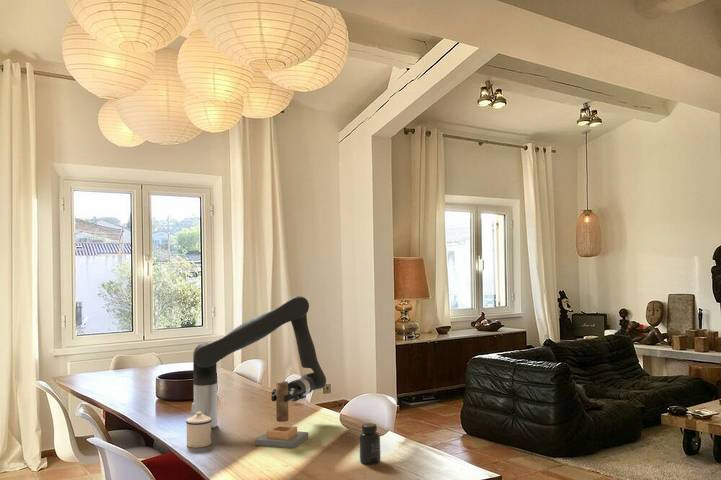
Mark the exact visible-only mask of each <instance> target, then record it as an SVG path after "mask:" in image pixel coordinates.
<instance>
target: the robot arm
mask: <svg viewBox="0 0 721 480" xmlns="http://www.w3.org/2000/svg"><path fill="white" fill-rule="evenodd" d="M309 308H310V303H309V301H308V299H307V298H306V297H304V296H300V295H295V296H293V297H291V298H290V299H288V300H287V301H286V302H284V303H282V304H281V305H279V306H277V307H276V308H274V309H272V310H270V311H267V312H264V313H262V314H260V315H257V316H255V317H252V318H251V319H249V320H246V321H245V322H243V323H242V324H240V325H238V326H237V327H235V328H234V329H233V330H231V331H230V332H229V333H227V334H226V335H225V336H222V337H221V338H219V339H217V340H214V341H213V342H209V343H208V342H202V343H200V344H198V345H197V346H196V347H195V349H194V350H193V354H192V355H193V358H192V359H193V361H192V362H193V368H192V369H193V370H192V371H193V376H192V377H193V402H192V403H191V417H193V416H194V415H196V413H197V412H202V414H203V415H205V416H208V417H210V418H211V419H212V421H211V429H213V428H216V427H217V426H218V376H217V375H218V371H217V363H218V362H220V361H221V360H223V359H224V358H226V357H227V356H229V355H232V353H234V352H237V351H240V350H242V349H243V348H246V347H248V346H250V345H252V344H254V343H256V342H258V341H260V340H262V339H264V338H266V337H267V336H269V335H270V334H271V333H273V332H274V331H276V330H277V329H278V328H280V327H281V326H283V325H285V324H287V323H289V322H290V323H291V326H292V328H293V331H294V337H295V340H296V341H295V342H296V345H297V346H296V347H297V351H298V357H299V361H300V365H301V367H302V368H303V369H311V371H313V372H310V373H307V374H303V375H301V377H300V378H296V379H294V380H292V381H289V382H288V395H286V396H284V402H288V403H289V402H290V401H291V402H297V401H300V400H302V399H305V398H307V396H308V395H309V394H310V393H312V391H315V390H319V389H320V390H321V389H323V388H325V386H326V384H327V378H326V374H325V373H324V371H323V369H322V368H321V367H322V366H321V365H320V363H319V361H318V357H317V352H316V348H315V345H314V344H315V343H314V341H313V339H312V336H311V333H310V330H309V326H308V318H307V316H308V314H307V313H308V312H309V310H310V309H309ZM270 398H271V402H276V388H274V389H273V390H272V391H271V397H270Z"/></svg>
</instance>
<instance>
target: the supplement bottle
mask: <svg viewBox="0 0 721 480" xmlns="http://www.w3.org/2000/svg"><path fill="white" fill-rule="evenodd" d="M377 425H378V424H376V423H374V422H373V423H372V422H371V423H370V422H369V423H368V422H367V423H366V422H365V423H364V424H362V425H361V433H360V434H359V437H358V438H359V462H360V463H361V464H363V465H368V466H369V465H377V464H379V463H380V462H381V458H382V457H381V435H380V433H378V432H377V430H378V428H377Z"/></svg>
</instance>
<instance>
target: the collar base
mask: <svg viewBox="0 0 721 480" xmlns="http://www.w3.org/2000/svg"><path fill="white" fill-rule="evenodd" d="M305 439H306V440H307V439H309V432H308V431H298V426H293V425H292V426H290V425H281V424H279V425H275V426H273V427H271V428H269V429H268V430H266V432H265V433H263V434H262V435H260V436H258V437H257V438H254V445H255V446H263V447H275V448H287V449H294V448H296V447H297V446H298V445H300V444H301V443H302V442H303V443H304V441H305Z"/></svg>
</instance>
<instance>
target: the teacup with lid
mask: <svg viewBox="0 0 721 480" xmlns="http://www.w3.org/2000/svg"><path fill="white" fill-rule="evenodd" d="M211 421H212V419H211V418H210V417H208V416H205V415H203V414H202V412H197V413H196V415H194V416H193V417H192V416H191V417H188V418H187V419H186V421H185V423H186V446H188V447H189V448H194V449H195V448H204V447H208V446H210V445H211V444H212V428H211Z"/></svg>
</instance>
